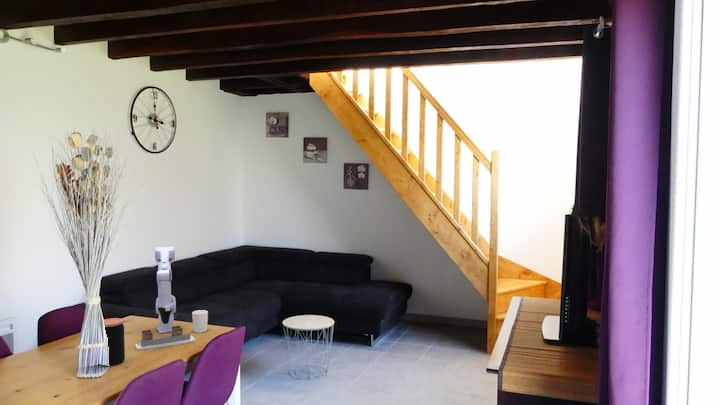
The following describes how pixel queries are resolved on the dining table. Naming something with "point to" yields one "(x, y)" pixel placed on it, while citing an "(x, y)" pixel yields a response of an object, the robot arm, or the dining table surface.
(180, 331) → the rack
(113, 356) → the coffee jar
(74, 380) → the dining table surface
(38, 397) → the dining table surface
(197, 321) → the white cup
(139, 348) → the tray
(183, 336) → the rail
